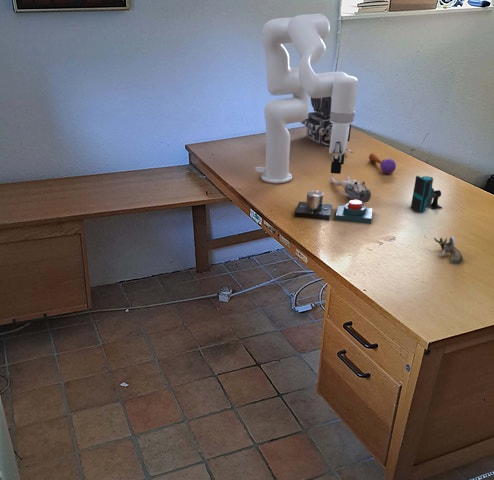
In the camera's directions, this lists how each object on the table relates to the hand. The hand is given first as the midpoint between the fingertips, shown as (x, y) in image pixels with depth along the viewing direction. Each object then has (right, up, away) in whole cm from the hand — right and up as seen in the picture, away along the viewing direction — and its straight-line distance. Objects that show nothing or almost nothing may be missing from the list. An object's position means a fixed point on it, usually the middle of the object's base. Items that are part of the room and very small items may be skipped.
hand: (337, 168), depth 187 cm
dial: (-6, -12, +10) cm, 17 cm away
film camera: (+13, +29, +80) cm, 86 cm away
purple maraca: (+30, +11, +50) cm, 60 cm away
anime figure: (+11, -5, +25) cm, 28 cm away
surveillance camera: (+35, -12, +12) cm, 39 cm away
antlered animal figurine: (+29, -31, -19) cm, 47 cm away
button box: (+7, -16, +7) cm, 19 cm away
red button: (+7, -12, +5) cm, 15 cm away
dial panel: (-6, -14, +11) cm, 18 cm away
